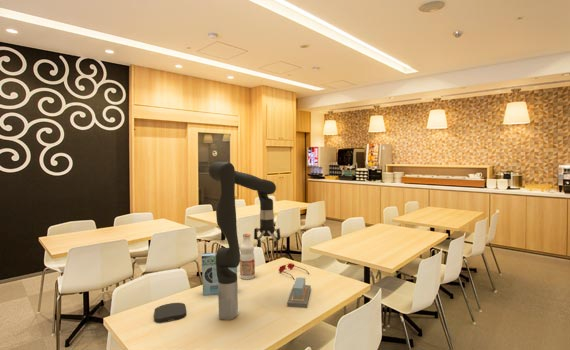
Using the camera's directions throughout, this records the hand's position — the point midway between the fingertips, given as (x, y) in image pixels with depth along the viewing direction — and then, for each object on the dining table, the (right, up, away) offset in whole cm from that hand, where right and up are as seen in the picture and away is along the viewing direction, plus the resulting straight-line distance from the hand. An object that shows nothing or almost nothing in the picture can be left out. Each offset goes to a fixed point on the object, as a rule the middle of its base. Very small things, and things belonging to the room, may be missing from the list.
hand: (267, 247), depth 173 cm
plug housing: (+18, -26, +4) cm, 32 cm away
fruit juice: (-15, -27, +32) cm, 45 cm away
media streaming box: (-47, -30, -16) cm, 58 cm away
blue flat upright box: (-27, -28, +9) cm, 40 cm away
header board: (+18, -28, +2) cm, 33 cm away
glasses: (+15, -27, +37) cm, 48 cm away
